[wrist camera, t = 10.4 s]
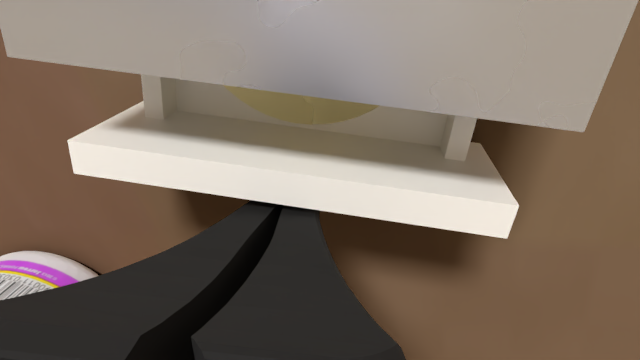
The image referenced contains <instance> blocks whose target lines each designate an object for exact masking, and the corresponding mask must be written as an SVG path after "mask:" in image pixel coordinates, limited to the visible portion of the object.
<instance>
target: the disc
mask: <svg viewBox="0 0 640 360" xmlns="http://www.w3.org/2000/svg"><path fill="white" fill-rule="evenodd" d="M223 86H224V87H225V88H226V89H227V90H229V91H230V92H231V93H232V94H233V95H235V96H236V97H237V98H238V99H240V100H241V101H243V102H244V103H246V104H247V105H249V106H250V107H252V108H254V109H256V110H258V111H260V112H262V113H264V114H266V115H268V116H271V117H274V118H277V119H280V120H283V121H288V122H292V123H299V124H309V125H316V124H331V123H337V122H342V121H346V120H349V119H353V118H356V117H359V116H361V115H363V114H365V113H368V112H370V111H372V110H374V109H375V108H377V107H379V106H380V105H372V104H364V103H357V102H349V101H342V100H334V99H326V98H319V97H311V96H303V95H296V94H288V93H280V92H273V91H265V90H258V89H250V88H242V87H235V86H227V85H223Z"/></svg>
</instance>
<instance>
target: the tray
mask: <svg viewBox="0 0 640 360" xmlns="http://www.w3.org/2000/svg"><path fill="white" fill-rule="evenodd" d="M141 81H142V90H143V100H144V101H142V102H141V103H139V104H137V105H135V106H133V107H131V108H129V109H127V110H125V111H123V112H121V113H119V114H117V115H116V116H114V117H112V118H110V119H108V120H106V121H104V122H102V123H100V124H98V125H96V126H94V127H92V128H90V129H89V130H87V131H85V132H83V133H81V134H79V135H77V136H75V137H73V138H71V139H69V140H67V141H68V146H69V151H70V156H71V161H72V166H73V171H74V173H75V174H81V175H88V176H94V177H101V178H108V179H114V180H121V181H128V182H134V183H141V184H148V185H154V186H161V187H167V188H174V189H181V190H187V191H194V192H201V193H207V194H214V195H221V196H227V197H234V198H240V199H247V200H254V201H260V202H267V203H274V204H280V205H287V206H294V207H300V208H307V209H313V210H320V211H327V212H333V213H340V214H347V215H353V216H360V217H366V218H373V219H380V220H386V221H393V222H400V223H406V224H413V225H420V226H426V227H433V228H439V229H446V230H453V231H459V232H466V233H473V234H479V235H486V236H493V237H499V238H506V239H507V238H508V235H509V232H510V229H511V227H512V224H513V221H514V219H515V216H516V213H517V211H518V208H519V205H518V203H517V201H516V200H515V198H514V197H513V195H512V193H511V192H510V190H509V189H508V187H507V185H506V184H505V182H504V181H503V179H502V177H501V176H500V174H499V173H498V171H497V169H496V168H495V166H494V164H493V163H492V161H491V160H490V158H489V156H488V155H487V153H486V152H485V150H484V148H483V147H482V145H481V144H480V143H474V142H471V138H472V135H473V131H474V128H475V124H476V121H477V118H471V117H464V116H456V115H448V114H441V113H433V112H426V111H418V110H410V109H403V108H395V107H387V106H379V107H377V108H375V109H374V110H372V111H370V112H368V113H365V114H363V115H361V116H359V117H356V118H353V119H349V120H346V121H342V122H337V123H331V124H316V125H309V124H299V123H292V122H288V121H283V120H280V119H277V118H274V117H271V116H268V115H266V114H264V113H262V112H260V111H258V110H256V109H254V108H252V107H250V106H249V105H247V104H246V103H244V102H243V101H241V100H240V99H238V98H237V97H236V96H235V95H233V94H232V93H231V92H230V91H229V90H227V89H226V88H225V87H224V86H223V85H219V84H212V83H204V82H196V81H189V80H181V79H174V78H166V77H158V76H151V75H143V74H141Z"/></svg>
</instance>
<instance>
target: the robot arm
mask: <svg viewBox="0 0 640 360" xmlns="http://www.w3.org/2000/svg"><path fill="white" fill-rule="evenodd" d="M0 360H406V359H405V357H404V354H403V351H402V349H401V347H400V346H399V345H398V344H397V343H396V342H395V341H394V340H393V339H392V338H391V337H390V336H389V335H388V334H387V333H386V332H385V331H384V330H383V329H382V328H381V327H380V326H379V325H378V324H377V323H376V322H375V321H374V320H373V318H372V317H371V316H370V315H369V314H368V313H367V311H366V310H365V309H364V308H363V306H362V305H361V304H360V302H359V301H358V299H357V298H356V297H355V295H354V294H353V292H352V291H351V290H350V288H349V287H348V286H347V284H346V282H345V281H344V279H343V277H342V275H341V274H340V272H339V270H338V268H337V266H336V264H335V262H334V260H333V258H332V256H331V254H330V252H329V249H328V246H327V244H326V241H325V238H324V235H323V232H322V228H321V224H320V221H319V210H313V209H307V208H300V207H294V206H287V205H280V204H274V203H267V202H260V201H254V200H251V201H249V202H248V203H246V204H245V205H244V206H242V207H241V208H239V209H238V210H236V211H235V212H233V213H232V214H230V215H229V216H227V217H226V218H224V219H223V220H221V221H219V222H218V223H216V224H214V225H213V226H211V227H209V228H208V229H206V230H204V231H203V232H201V233H200V234H198V235H196V236H194V237H192V238H190V239H188V240H187V241H185V242H183V243H181V244H179V245H176V246H174V247H172V248H170V249H168V250H166V251H164V252H162V253H159V254H157V255H154V256H152V257H149V258H147V259H144V260H142V261H139V262H136V263H134V264H131V265H129V266H126V267H124V268H121V269H118V270H115V271H112V272H109V273H106V274H103V275H100V276H97V277H93V278H90V279H86V280H83V281H80V282H76V283H73V284H69V285H65V286H61V287H57V288H53V289H49V290H44V291H40V292H36V293H31V294H27V295H23V296H18V297H14V298H9V299H4V300H0Z"/></svg>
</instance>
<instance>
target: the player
mask: <svg viewBox="0 0 640 360" xmlns="http://www.w3.org/2000/svg"><path fill="white" fill-rule="evenodd" d="M637 2H638V0H0V28H1V32H2V36H3V40H4V44H5V48H6V53H7V57H13V58H21V59H28V60H36V61H44V62H51V63H59V64H67V65H74V66H82V67H89V68H97V69H105V70H112V71H120V72H128V73H135V74H143V75H151V76H158V77H166V78H174V79H181V80H189V81H196V82H204V83H212V84H219V85H227V86H235V87H242V88H250V89H258V90H265V91H273V92H280V93H288V94H296V95H303V96H311V97H319V98H326V99H334V100H342V101H349V102H357V103H364V104H372V105H380V106H387V107H395V108H403V109H410V110H418V111H426V112H433V113H441V114H448V115H456V116H464V117H471V118H479V119H487V120H494V121H502V122H510V123H517V124H525V125H532V126H540V127H548V128H555V129H563V130H571V131H578V132H584V131H585V128H586V126H587V123H588V121H589V119H590V116H591V114H592V111H593V109H594V106H595V104H596V102H597V99H598V97H599V94H600V92H601V90H602V87H603V85H604V82H605V80H606V77H607V75H608V73H609V70H610V68H611V65H612V63H613V60H614V58H615V56H616V53H617V51H618V48H619V46H620V44H621V41H622V39H623V36H624V34H625V31H626V29H627V27H628V24H629V22H630V19H631V17H632V14H633V12H634V10H635V7H636V5H637Z"/></svg>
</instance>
